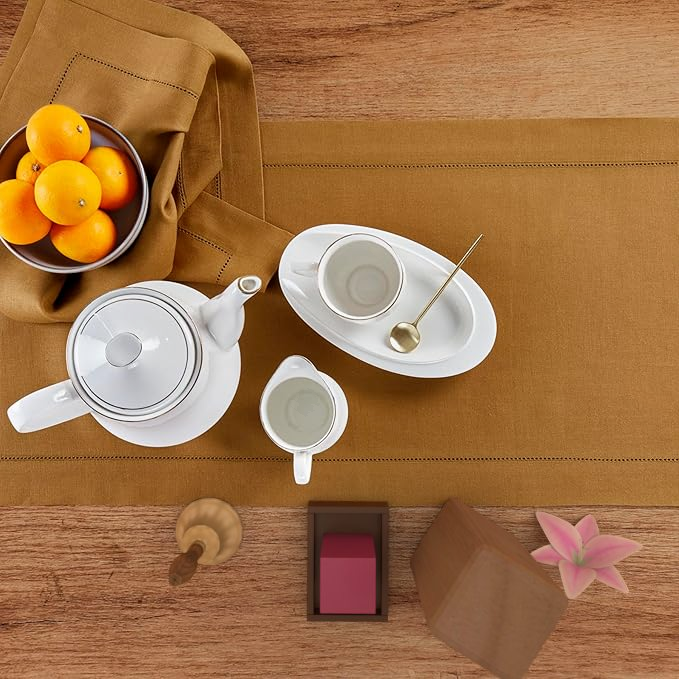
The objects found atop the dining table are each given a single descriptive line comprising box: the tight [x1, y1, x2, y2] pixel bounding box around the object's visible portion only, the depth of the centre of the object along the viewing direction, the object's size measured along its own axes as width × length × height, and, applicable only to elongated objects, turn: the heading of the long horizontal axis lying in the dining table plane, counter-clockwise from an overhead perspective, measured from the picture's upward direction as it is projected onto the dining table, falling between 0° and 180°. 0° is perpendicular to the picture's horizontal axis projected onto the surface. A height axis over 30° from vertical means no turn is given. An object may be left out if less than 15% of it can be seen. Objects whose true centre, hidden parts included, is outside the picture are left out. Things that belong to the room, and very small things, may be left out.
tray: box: [306, 500, 390, 623], centre depth 78 cm, size 14×10×3 cm
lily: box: [529, 510, 644, 600], centre depth 76 cm, size 12×12×10 cm
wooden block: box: [409, 497, 570, 679], centre depth 70 cm, size 10×10×20 cm
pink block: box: [320, 533, 376, 614], centre depth 74 cm, size 6×6×9 cm
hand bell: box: [167, 497, 244, 587], centre depth 72 cm, size 8×8×16 cm
